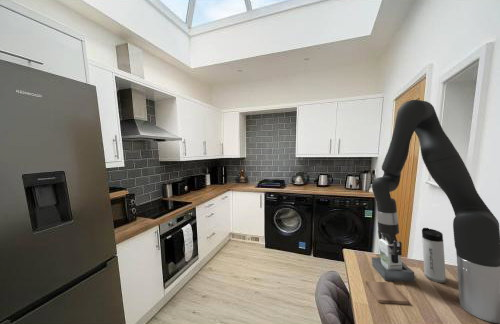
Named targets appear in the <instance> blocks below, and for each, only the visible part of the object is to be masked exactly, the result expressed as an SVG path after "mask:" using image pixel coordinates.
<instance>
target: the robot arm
mask: <svg viewBox="0 0 500 324" xmlns="http://www.w3.org/2000/svg"><path fill="white" fill-rule="evenodd" d="M395 116H396V117H395V123H394V127H393V133H392V136H391V141H390V143H389V146H388V150H387V151H386V155H385V157H384V159H383V163H382V165H381V170H382V171H383V174H382V177H376V178H374V179H373V180H372V184H371V189H372V193H373V195H374V198H375V201H376V210H377V211H376V220H377V233H378V234H377V235H378V240H379V239H383V240H385V241H386V242H387V243H388V244H393V247H392V246H389V248H390V249H391V259H392V262H393V263H398V255H401V256H402V255H403V254H402V251H403V249H402V247H403V246H402V245H403V244H402V242H401V241H399V240H398V239H397V235H398V234H400V228H399V227H400V226H399V217H398V216H399V215H398V210H397V201H396V200H395V199H394V198H392V197H391V193H392V192H394V191H395V190H396V189H398V187H399V185H400V181H401V176H402V175H401V174H402V173H401V172H402V171H403V169H404V167H405V164H406V162H407V160H408V158H409V157H408V156H409V150H410V145H411V140H412V137H413V136H414V133H415V134H416V136H417V138H418V141H419V142H418V143H419V146H420V154H421V159H422V161H423V164H424V165H425V167H426V170H427V172H428V173H429V175H430V177H431V178H432V179H433V181H434V182H435V183H436V184H437V186H438V187H439V188H440V189H441V190H442V191H443V193H444V195H446V197H447V198H448V200H449V203H450V205H451V207H452V210H453V213H454V218H453V221H452V227H453V228H452V229H453V240H454V247H455V250H456V251H455V252H456V264H457V280H458V294H459V298H458V299H459V305H460V306H461V308H462V309H463V310H465V311H466V312H467V313H469V314H470V315H472V316H473V317H476V318H478V319H480V320H483V321H486V322H489V323H492V324H493V323H494V324H500V222H499V220H498V218H496V216H495V215H494V213H492V211H491V210H490V208H489V207H488V206H487V205H486V203H485V201H484V200H483V198H481V195H480V194H479V193H478V191H477V188H476V187H475V184H474V181H473V179H472V176H471V174H470V172H469V170H468V168H467V166H466V164H465V162H464V161H463V160H464V159H463V158H462V157H461V155H460V153H459V152H458V150H457V148H456V147H455V146H454V144H453V143H452V141H451V139H450V138H449V136H448V135H447V134H446V132H445V131H444V129H443V127H442V125H441V122H440V120H439V117H438V114H437V112H436V110H435V107H434V106H433V104H432V103H431V102H428V101H426V100H422V99H421V100H420V99H411V100H410V99H409V100H407V101H406V102H404V103H402V104H401V105H400V106H399V108H398V110H397V113H396V115H395ZM390 192H391V193H390ZM398 250H399V252H398Z"/></svg>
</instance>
